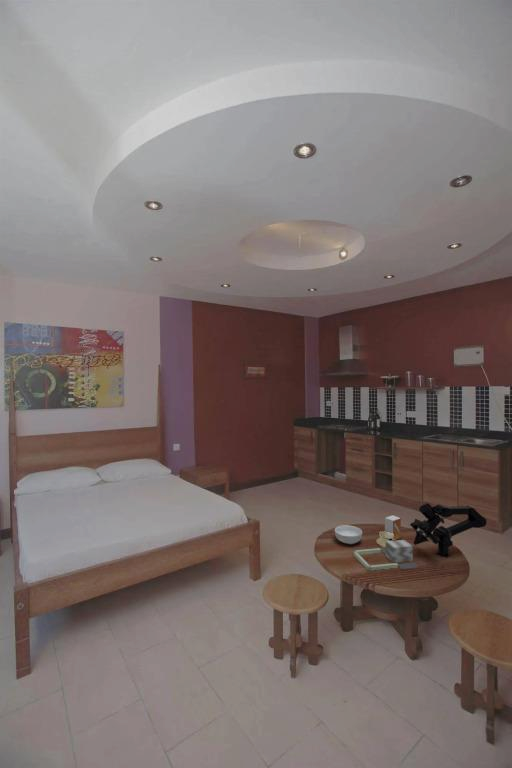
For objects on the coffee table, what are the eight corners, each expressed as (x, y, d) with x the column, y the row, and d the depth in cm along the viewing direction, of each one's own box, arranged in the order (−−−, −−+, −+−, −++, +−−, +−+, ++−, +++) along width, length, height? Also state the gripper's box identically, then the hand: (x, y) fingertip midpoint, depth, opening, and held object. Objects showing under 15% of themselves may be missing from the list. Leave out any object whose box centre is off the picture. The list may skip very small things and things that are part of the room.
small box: (393, 541, 224) (393, 520, 223) (384, 537, 229) (384, 517, 229) (401, 538, 228) (401, 518, 228) (392, 534, 233) (392, 514, 233)
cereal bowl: (344, 533, 236) (344, 522, 236) (367, 541, 224) (367, 530, 223) (329, 541, 224) (329, 530, 224) (352, 550, 212) (352, 538, 212)
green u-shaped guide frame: (394, 548, 214) (394, 545, 214) (418, 567, 192) (418, 564, 192) (351, 552, 209) (351, 549, 209) (370, 573, 187) (370, 569, 187)
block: (404, 554, 207) (404, 539, 207) (412, 561, 199) (412, 546, 199) (385, 556, 205) (385, 541, 205) (392, 562, 197) (392, 547, 197)
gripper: (412, 508, 214) (396, 528, 212) (433, 520, 196) (415, 542, 194) (424, 520, 215) (408, 540, 213) (446, 533, 197) (428, 555, 195)
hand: (414, 544), depth 204 cm, fingers closed
